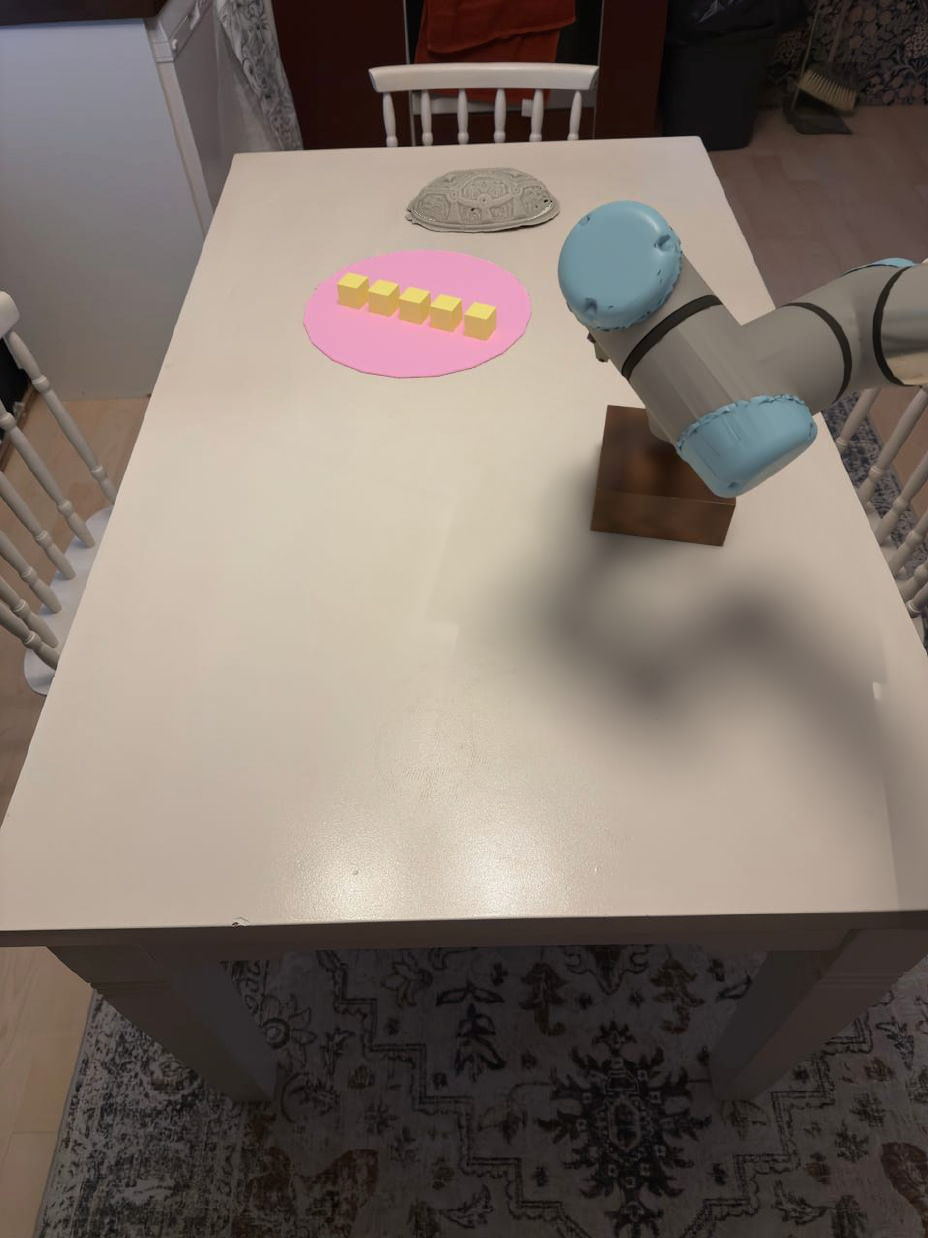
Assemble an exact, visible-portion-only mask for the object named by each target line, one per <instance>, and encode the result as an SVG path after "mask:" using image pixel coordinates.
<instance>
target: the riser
mask: <svg viewBox="0 0 928 1238" xmlns="http://www.w3.org/2000/svg"><path fill="white" fill-rule="evenodd" d="M592 506H593V507H592V512H591V513H592V514H591V519H590V521H591V522H590V528H589V529H590V531H593V532H594V531H595V532H602V533H611V534H619V535H629V536H635V537H636V536H637V537H644V538H651V539H652V538H653V539H662V540H668V541H669V540H671V541H678V542H686V543H694V544H701V545H702V544H703V545H710V546H718V547H723V546H724V545H725V541H726V538H727V535H728V531H729V528H730V525H731V523H732V519H733V516H734V513H735V510H736V507H737V497H733V498H724V497H720V496H717V495H716V494H714V493H713V492H712V491H711V490H710V489H709V487H708V486H707V485H706V484H705V483H704V481H703V480H702V479H701V478H700V477H699V475H698V474H697V473H696V472H695V471H694V469H693V468H692V467H691V466H690V464H689V463H688V462H686V461H683V459H682V458H681V457H680V456H679V454H678V453H677V450H676V448H675V447H674V445H673V444H671V443H669V442H666V441H663V440H661V439H659V438H658V437H656V436H655V435H654V434H653V433H652V432H651V430H650V428H649V420H648V416H647V412H646V408H645V407H644V408H643V407H634V406H623V405H615V404H607V405H606V412H605V419H604V427H603V434H602V442H601V448H600V456H599V463H598V470H597V477H596V484H595V491H594V499H593V505H592Z"/></svg>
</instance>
